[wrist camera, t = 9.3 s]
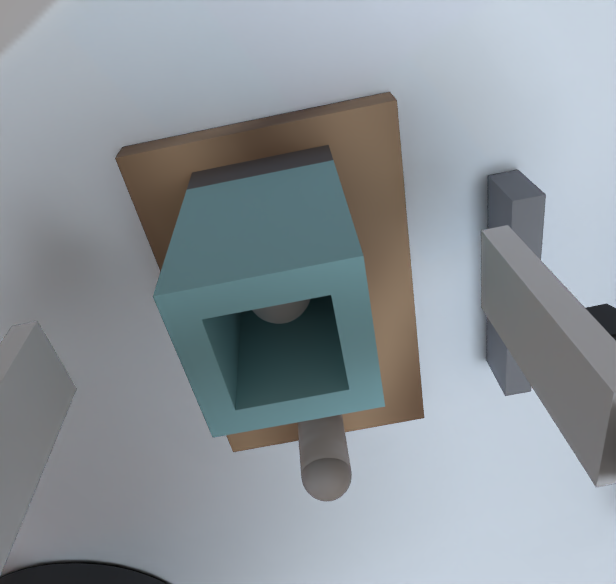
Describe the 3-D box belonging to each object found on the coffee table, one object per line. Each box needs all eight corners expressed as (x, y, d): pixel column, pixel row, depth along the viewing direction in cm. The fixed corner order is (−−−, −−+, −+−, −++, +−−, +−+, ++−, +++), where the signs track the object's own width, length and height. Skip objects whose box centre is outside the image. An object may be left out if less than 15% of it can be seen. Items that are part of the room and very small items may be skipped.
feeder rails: (486, 360, 27) (505, 395, 25) (488, 175, 21) (512, 201, 19) (662, 328, 26) (696, 361, 24) (711, 131, 21) (760, 152, 19)
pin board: (234, 434, 28) (226, 565, 22) (122, 147, 20) (59, 237, 14) (418, 401, 28) (460, 526, 22) (389, 92, 19) (447, 160, 13)
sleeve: (192, 172, 19) (152, 296, 12) (328, 144, 19) (363, 255, 12) (228, 286, 22) (212, 437, 15) (347, 263, 22) (384, 406, 15)
